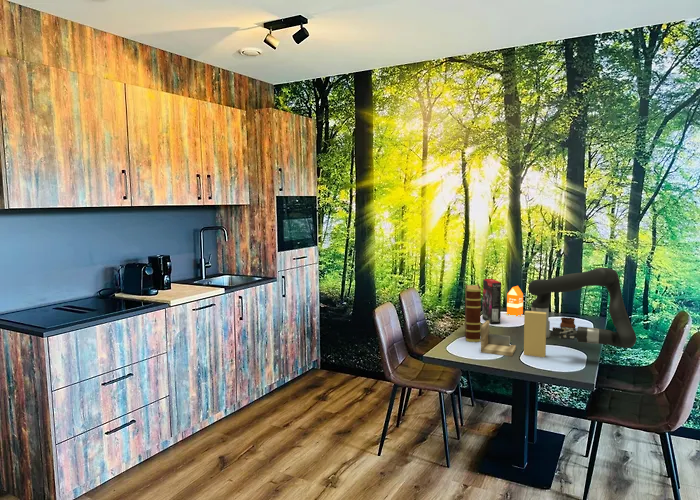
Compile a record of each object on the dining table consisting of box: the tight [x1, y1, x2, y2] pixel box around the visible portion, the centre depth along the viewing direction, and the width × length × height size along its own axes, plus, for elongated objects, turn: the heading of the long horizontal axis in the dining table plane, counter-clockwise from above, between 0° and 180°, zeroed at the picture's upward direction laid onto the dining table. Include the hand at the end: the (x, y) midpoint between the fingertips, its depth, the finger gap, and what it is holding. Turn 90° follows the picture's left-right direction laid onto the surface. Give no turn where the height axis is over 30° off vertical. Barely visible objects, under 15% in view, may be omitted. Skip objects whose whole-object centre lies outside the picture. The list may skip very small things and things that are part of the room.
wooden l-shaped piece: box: [480, 320, 517, 357], centre depth 251 cm, size 16×14×14 cm
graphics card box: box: [481, 278, 502, 325], centre depth 315 cm, size 17×7×27 cm, turn 5°
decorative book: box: [464, 283, 482, 343], centre depth 278 cm, size 22×8×30 cm, turn 168°
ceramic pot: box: [559, 316, 576, 329], centre depth 294 cm, size 18×18×7 cm
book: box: [523, 310, 547, 358], centre depth 242 cm, size 4×10×22 cm, turn 63°
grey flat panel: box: [488, 333, 511, 346], centre depth 255 cm, size 11×2×5 cm, turn 63°
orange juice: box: [506, 285, 524, 317], centre depth 334 cm, size 8×9×20 cm
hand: (551, 331), depth 239 cm, fingers open, 8 cm apart
